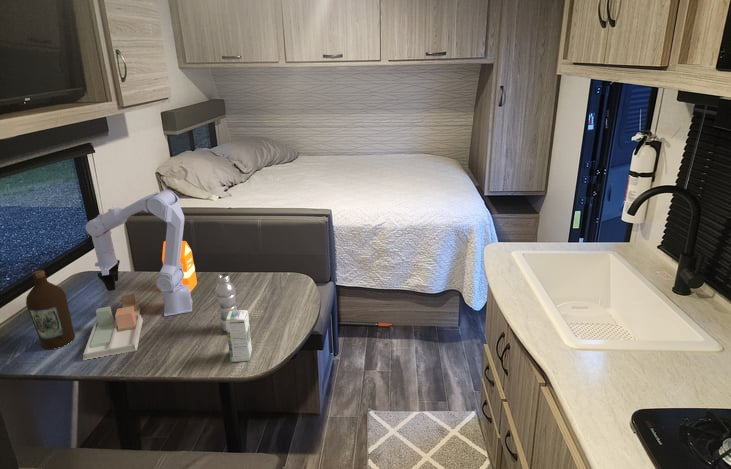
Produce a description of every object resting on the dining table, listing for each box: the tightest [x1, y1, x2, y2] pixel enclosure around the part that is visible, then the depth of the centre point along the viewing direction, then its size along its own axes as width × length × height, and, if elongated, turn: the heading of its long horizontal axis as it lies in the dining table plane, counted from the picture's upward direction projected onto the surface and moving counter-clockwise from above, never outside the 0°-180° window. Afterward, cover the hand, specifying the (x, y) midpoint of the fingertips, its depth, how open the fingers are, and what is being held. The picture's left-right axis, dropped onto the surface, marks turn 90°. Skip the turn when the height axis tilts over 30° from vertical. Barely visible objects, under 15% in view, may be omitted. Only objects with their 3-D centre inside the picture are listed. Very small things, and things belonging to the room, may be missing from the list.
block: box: [114, 306, 136, 329], centre depth 160 cm, size 5×5×5 cm
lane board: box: [82, 313, 144, 361], centre depth 155 cm, size 20×15×2 cm
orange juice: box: [161, 240, 198, 293], centre depth 186 cm, size 8×9×20 cm
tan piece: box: [117, 293, 141, 332], centre depth 164 cm, size 14×6×6 cm, turn 19°
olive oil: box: [25, 269, 76, 350], centre depth 150 cm, size 11×11×25 cm
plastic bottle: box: [214, 272, 238, 333], centre depth 156 cm, size 6×7×20 cm
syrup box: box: [225, 309, 253, 363], centre depth 142 cm, size 6×6×14 cm
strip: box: [90, 306, 116, 348], centre depth 155 cm, size 14×6×6 cm, turn 19°
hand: (113, 285), depth 170 cm, fingers open, 7 cm apart
